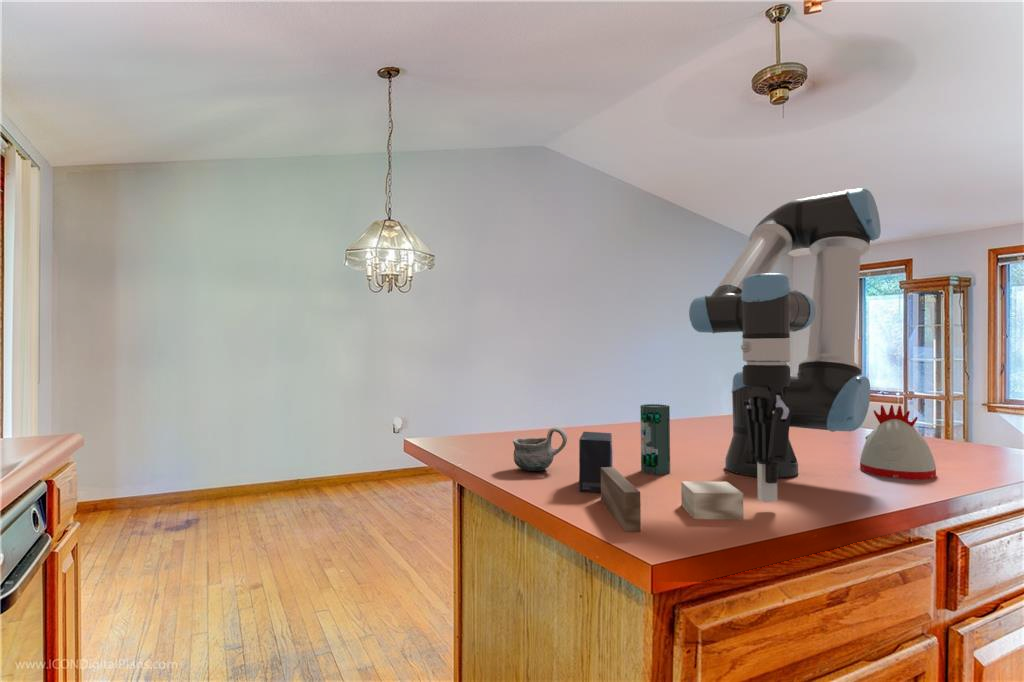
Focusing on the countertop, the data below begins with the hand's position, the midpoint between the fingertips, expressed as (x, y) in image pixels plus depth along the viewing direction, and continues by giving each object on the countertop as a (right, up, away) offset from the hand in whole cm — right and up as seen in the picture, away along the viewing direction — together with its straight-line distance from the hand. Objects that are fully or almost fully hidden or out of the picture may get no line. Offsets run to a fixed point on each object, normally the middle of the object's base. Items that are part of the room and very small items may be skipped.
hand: (767, 500), depth 96 cm
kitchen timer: (+42, -2, +28) cm, 50 cm away
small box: (-27, -3, +18) cm, 32 cm away
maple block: (-10, -2, 0) cm, 10 cm away
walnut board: (-26, -2, -1) cm, 26 cm away
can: (-11, -2, +31) cm, 33 cm away
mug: (-38, -3, +33) cm, 50 cm away
